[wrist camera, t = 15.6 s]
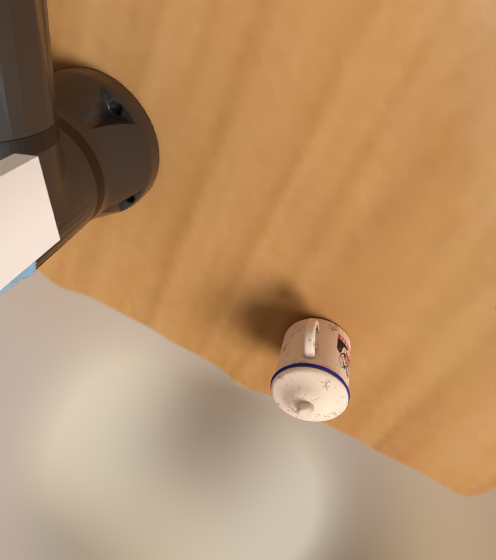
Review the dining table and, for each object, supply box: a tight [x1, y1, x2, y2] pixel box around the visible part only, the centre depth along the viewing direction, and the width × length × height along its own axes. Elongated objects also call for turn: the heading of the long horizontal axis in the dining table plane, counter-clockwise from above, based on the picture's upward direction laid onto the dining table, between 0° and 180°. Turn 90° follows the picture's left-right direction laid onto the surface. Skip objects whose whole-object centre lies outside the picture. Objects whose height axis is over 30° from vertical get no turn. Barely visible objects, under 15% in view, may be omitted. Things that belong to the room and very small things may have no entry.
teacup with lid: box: [271, 318, 351, 421], centre depth 51 cm, size 12×9×12 cm
